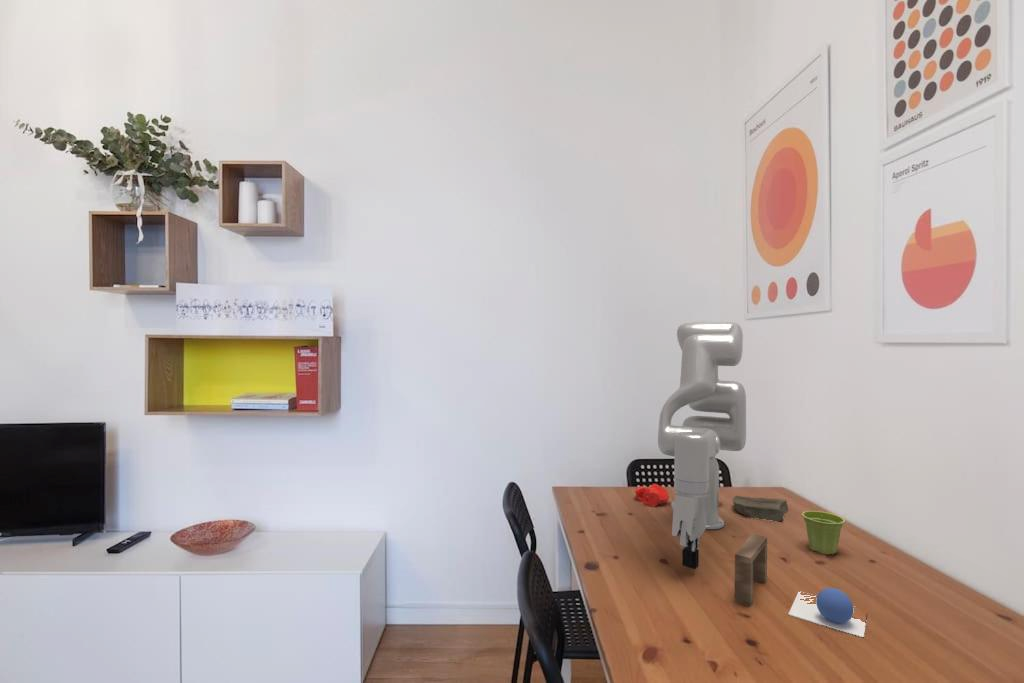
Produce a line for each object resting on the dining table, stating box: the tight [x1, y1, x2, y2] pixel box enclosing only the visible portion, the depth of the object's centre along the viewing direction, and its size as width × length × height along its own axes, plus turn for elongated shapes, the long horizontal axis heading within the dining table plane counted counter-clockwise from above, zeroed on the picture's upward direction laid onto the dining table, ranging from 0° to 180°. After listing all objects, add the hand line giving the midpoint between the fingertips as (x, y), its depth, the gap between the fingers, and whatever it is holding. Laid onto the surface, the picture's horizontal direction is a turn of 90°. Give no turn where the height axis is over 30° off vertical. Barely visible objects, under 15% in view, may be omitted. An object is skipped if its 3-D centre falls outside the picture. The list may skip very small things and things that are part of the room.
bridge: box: [733, 533, 768, 607], centre depth 106 cm, size 3×15×10 cm, turn 142°
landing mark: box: [788, 591, 867, 638], centre depth 98 cm, size 12×12×1 cm
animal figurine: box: [634, 483, 670, 507], centre depth 170 cm, size 12×15×5 cm
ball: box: [816, 587, 854, 623], centre depth 95 cm, size 6×6×6 cm
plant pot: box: [801, 510, 846, 555], centre depth 129 cm, size 9×9×9 cm
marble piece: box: [732, 495, 789, 522], centre depth 158 cm, size 17×15×4 cm
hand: (690, 566), depth 115 cm, fingers closed
